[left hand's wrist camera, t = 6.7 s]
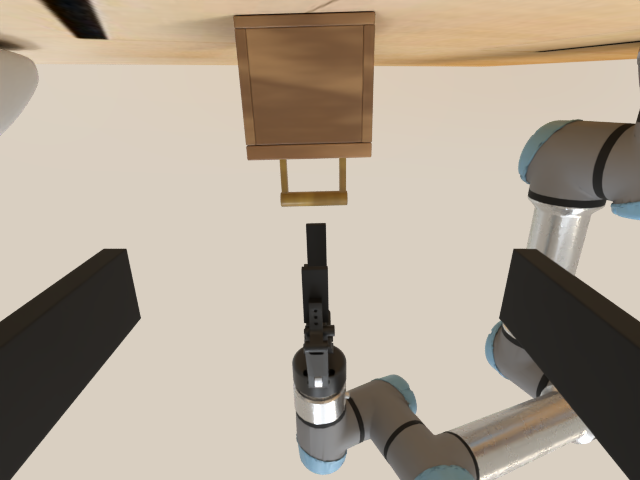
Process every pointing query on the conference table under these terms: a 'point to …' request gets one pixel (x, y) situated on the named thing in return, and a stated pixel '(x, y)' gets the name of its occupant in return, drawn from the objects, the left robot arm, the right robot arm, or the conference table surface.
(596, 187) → the right robot arm
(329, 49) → the chest
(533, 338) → the left robot arm
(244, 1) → the conference table surface
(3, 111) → the projector
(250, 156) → the lid
